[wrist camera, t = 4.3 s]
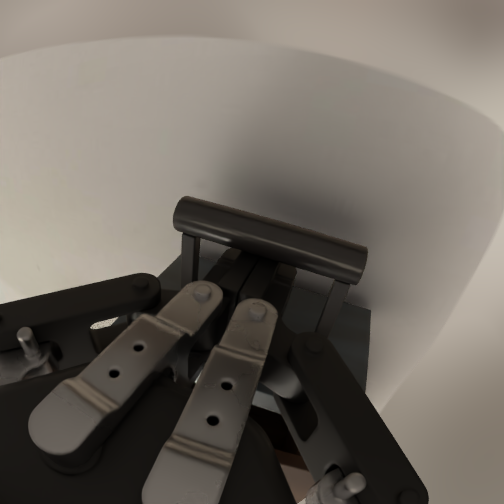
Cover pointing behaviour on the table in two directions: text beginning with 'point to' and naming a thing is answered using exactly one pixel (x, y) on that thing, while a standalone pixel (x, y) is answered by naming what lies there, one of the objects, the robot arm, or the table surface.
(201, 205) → the drawer
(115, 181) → the table surface
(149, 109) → the table surface
